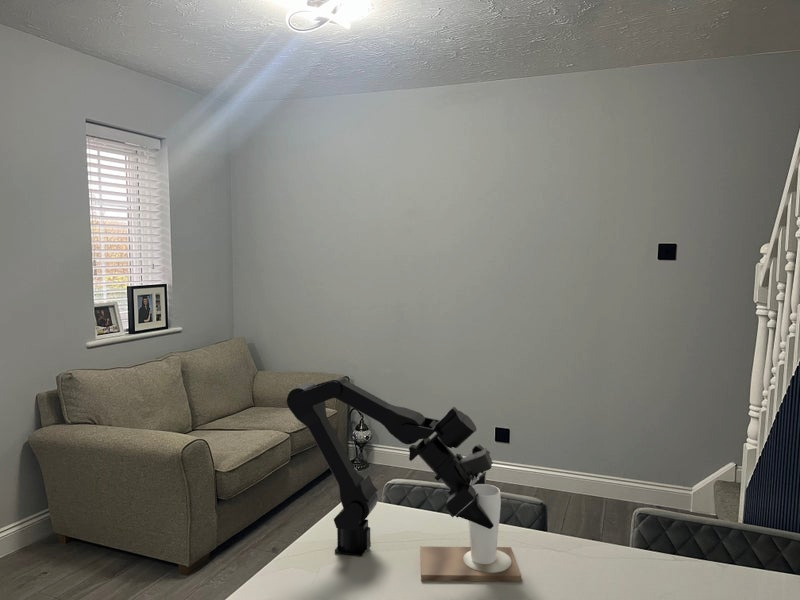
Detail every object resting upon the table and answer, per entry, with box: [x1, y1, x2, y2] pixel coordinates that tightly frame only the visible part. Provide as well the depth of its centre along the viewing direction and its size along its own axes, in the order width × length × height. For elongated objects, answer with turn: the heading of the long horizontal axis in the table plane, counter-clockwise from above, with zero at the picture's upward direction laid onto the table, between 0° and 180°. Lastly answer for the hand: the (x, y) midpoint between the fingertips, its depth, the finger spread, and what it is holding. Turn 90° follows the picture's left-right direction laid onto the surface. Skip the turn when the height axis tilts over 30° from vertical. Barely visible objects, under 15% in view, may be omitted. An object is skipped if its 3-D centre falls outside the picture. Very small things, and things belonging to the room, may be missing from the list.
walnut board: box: [419, 546, 522, 583], centre depth 125 cm, size 20×12×1 cm, turn 89°
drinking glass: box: [468, 483, 502, 565], centre depth 125 cm, size 7×7×15 cm
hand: (494, 517), depth 124 cm, fingers open, 9 cm apart
